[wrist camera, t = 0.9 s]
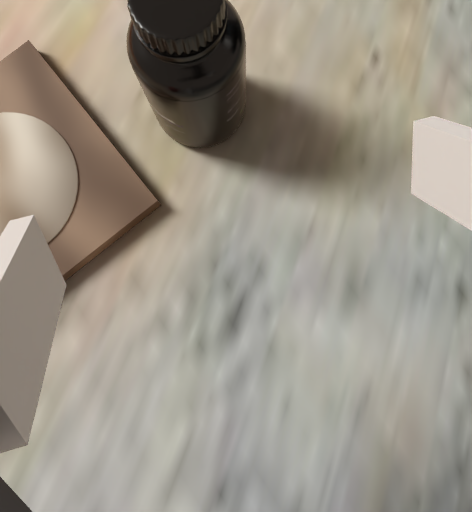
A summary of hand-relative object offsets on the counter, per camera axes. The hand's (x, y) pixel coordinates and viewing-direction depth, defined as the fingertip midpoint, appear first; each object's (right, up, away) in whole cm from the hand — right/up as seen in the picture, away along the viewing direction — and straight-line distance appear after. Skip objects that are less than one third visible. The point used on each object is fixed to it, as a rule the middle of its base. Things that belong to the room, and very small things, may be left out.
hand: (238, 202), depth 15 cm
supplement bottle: (-3, +9, +18) cm, 20 cm away
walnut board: (-17, +3, +17) cm, 24 cm away
